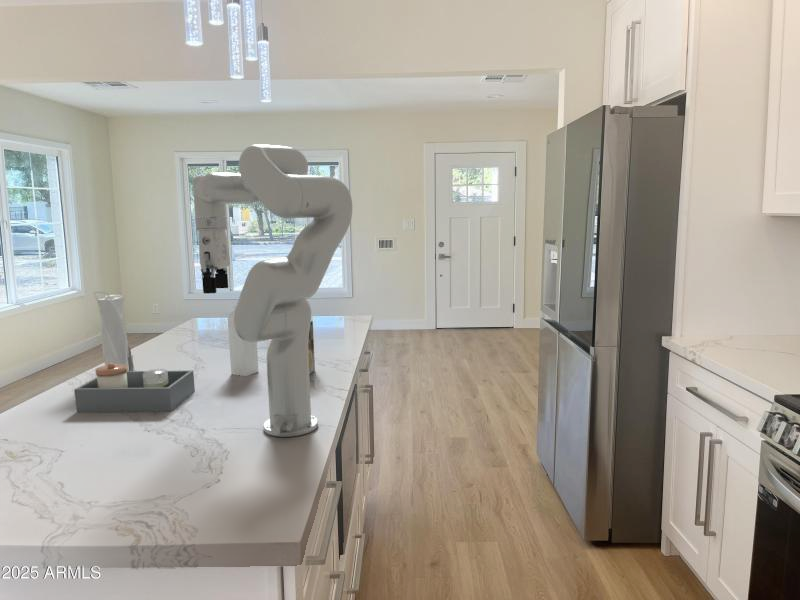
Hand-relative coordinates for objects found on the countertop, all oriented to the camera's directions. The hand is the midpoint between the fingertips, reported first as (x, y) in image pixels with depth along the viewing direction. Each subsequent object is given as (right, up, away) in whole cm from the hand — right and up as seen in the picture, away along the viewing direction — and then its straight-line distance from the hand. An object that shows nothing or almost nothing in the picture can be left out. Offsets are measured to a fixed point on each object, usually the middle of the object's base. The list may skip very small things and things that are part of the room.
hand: (216, 290), depth 149 cm
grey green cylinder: (-16, -29, +2) cm, 33 cm away
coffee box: (+17, -26, +28) cm, 42 cm away
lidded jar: (-28, -29, +2) cm, 41 cm away
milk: (-1, -26, +31) cm, 40 cm away
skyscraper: (-37, -27, +23) cm, 52 cm away
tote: (-21, -30, +2) cm, 37 cm away
